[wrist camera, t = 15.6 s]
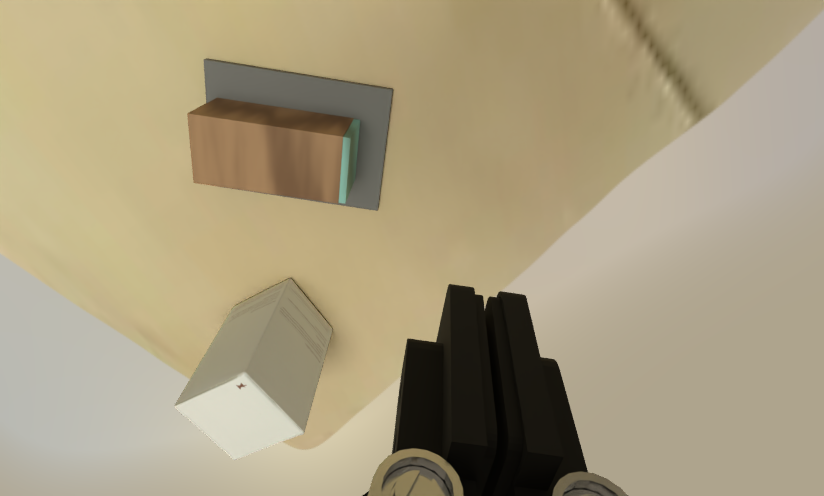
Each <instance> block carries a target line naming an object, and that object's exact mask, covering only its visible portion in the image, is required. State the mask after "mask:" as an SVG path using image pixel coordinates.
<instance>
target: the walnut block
mask: <svg viewBox="0 0 824 496" xmlns="http://www.w3.org/2000/svg"><path fill="white" fill-rule="evenodd" d="M187 115H188V126H189V137H190V148H191V158H192V169H193V180H194V183H199V184H206V185H213V186H220V187H227V188H233V189H240V190H247V191H254V192H261V193H268V194H275V195H282V196H289V197H296V198H303V199H310V200H317V201H324V202H330V203H337V204H338V203H344V204H345V203H346V201H347V198H348V196H349V193H350V191H351V188H352V186H353V183H354V181H355V175H356V164H357V152H358V140H359V129H360V120H357V119H354V118H349V117H343V116H336V115H329V114H323V113H316V112H310V111H303V110H296V109H290V108H283V107H276V106H270V105H263V104H256V103H250V102H243V101H236V100H230V99H223V98H215V99H213V100H212V101H210V102H208V103H206V104H204V105H202V106H200V107H199V108H197V109H195V110H193V111H191V112H189V113H188V114H187Z"/></svg>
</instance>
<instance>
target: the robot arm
mask: <svg viewBox="0 0 824 496" xmlns="http://www.w3.org/2000/svg"><path fill="white" fill-rule="evenodd" d="M363 496H628V495H627V494H626V493H625V492H624V491H623V490H622V489H621V488H620V487H618V486H617V485H615V484H614V483H612V482H611V481H609V480H608V479H606V478H604V477H601V476H599V475H596V474H594V473H588V471H587V467H586V464H585V460H584V456H583V453H582V449H581V445H580V442H579V438H578V434H577V431H576V427H575V424H574V420H573V416H572V413H571V410H570V405H569V402H568V398H567V394H566V391H565V387H564V384H563V380H562V377H561V373H560V369H559V366H558V364H557V362H556V361H555V360H554V359H548V358H541V357H540V354H539V349H538V346H537V341H536V337H535V332H534V328H533V324H532V320H531V316H530V311H529V307H528V303H527V298H526V296H525V295H522V294H515V293H507V292H501V291H500V292H499V293H498V295H497V297H489V298H488V301H487V304H486V308H485V310H484V301H483V296H482V295H476V294H475V291H474V288H473V287H466V286H459V285H452V284H449V286H448V289H447V293H446V298H445V303H444V308H443V312H442V317H441V322H440V327H439V332H438V336H437V341H436V342H429V341H422V340H415V339H407V344H406V350H405V356H404V362H403V368H402V375H401V382H400V389H399V397H398V406H397V415H396V424H395V433H394V442H393V451H392V455H389V456H388V457H387V458H386V459H385V460H384V461H383V462H382V463H381V464H380V465H379V467H378V469H377V471H376V473H375V474H374V476H373V480H372V483H371V486H370V490H369V491H368V492H367V493H366V494H365V495H363Z"/></svg>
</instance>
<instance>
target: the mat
mask: <svg viewBox="0 0 824 496" xmlns="http://www.w3.org/2000/svg"><path fill="white" fill-rule="evenodd" d="M204 71H205V87H206V103H208V102H210V101H212V100H213V99H215V98H223V99H230V100H236V101H243V102H250V103H256V104H263V105H270V106H276V107H283V108H290V109H296V110H303V111H310V112H316V113H323V114H329V115H336V116H343V117H349V118H354V119H357V120H360V129H359V140H358V152H357V164H356V175H355V181H354V183H353V186H352V188H351V191H350V193H349V196H348V198H347V201H346V203H345V204H344V203H338V204H337V203H330V202H324V201H317V200H310V199H304V200H310V201H317V202H323V203H330V204H337V205H343V206H350V207H356V208H363V209H369V210H376V211H378V205H379V197H380V189H381V181H382V173H383V165H384V157H385V149H386V141H387V133H388V125H389V117H390V109H391V101H392V93H393V89H391V88H385V87H379V86H372V85H366V84H360V83H354V82H348V81H342V80H335V79H329V78H323V77H317V76H311V75H305V74H298V73H292V72H286V71H280V70H274V69H267V68H261V67H255V66H249V65H243V64H237V63H230V62H224V61H218V60H212V59H204ZM212 186H213V185H212ZM219 187H220V186H219ZM225 188H227V187H225ZM232 189H233V188H232ZM238 190H240V189H238ZM245 191H247V190H245ZM251 192H254V191H251ZM258 193H261V192H258ZM264 194H268V193H264ZM271 195H275V194H271ZM278 196H282V195H278ZM284 197H289V196H284ZM291 198H296V197H291ZM297 199H303V198H297Z"/></svg>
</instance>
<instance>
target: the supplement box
mask: <svg viewBox="0 0 824 496" xmlns="http://www.w3.org/2000/svg"><path fill="white" fill-rule="evenodd" d="M332 331H333V329H332V327H331V326H330V325H329V324H328V323H327V321H326V320H325V319H324V318H323V317H322V315H321V314H320V313H319V312H318V311H317V309H316V308H315V307H314V306H313V305H312V303H311V302H310V301H309V300H308V298H307V297H306V296H305V295H304V294H303V292H302V291H301V290H300V289H299V288H298V286H297V285H296V284H295V283H294V281H293V280H292V279H291V278H289V279H287V280H285V281H283V282H281V283H279V284H277V285H275V286H273V287H271V288H269V289H267V290H265V291H263V292H261V293H259V294H257V295H255V296H253V297H251V298H249V299H247V300H245V301H243V302H241V303H239V304H238V305H236V306H234V307H233V308H232V310H231V311H230V313H229V315H228V317H227V318H226V320H225V321H224V323H223V325H222V327H221V328H220V330H219V332H218V333H217V335H216V337H215V338H214V340H213V342H212V343H211V345H210V347H209V348H208V350H207V352H206V353H205V355H204V357H203V358H202V360H201V362H200V363H199V365H198V367H197V368H196V370H195V372H194V373H193V375H192V377H191V379H190V380H189V382H188V384H187V385H186V387H185V389H184V390H183V392H182V394H181V395H180V397H179V399H178V400H177V402H176V404H175V406H174V407H175V408H176V409H177V410H178V411H179V412H180V413H181V414H183V415H184V416H185V417H186V418H187V419H188V420H190V421H191V422H192V423H193V424H194V425H195V426H196V427H198V428H199V429H200V430H201V431H202V432H203V433H204V434H205V435H207V436H208V437H209V438H210V439H211V440H212V441H213V442H214V443H215V444H217V445H218V446H219V447H220V448H221V449H222V450H224V452H225V453H227V454H228V455H229V456H230V457H231V458H232V459H233V460H237V459H239V458H242V457H244V456H247V455H250V454H252V453H255V452H257V451H260V450H262V449H265V448H267V447H269V446H272V445H274V444H277V443H280V442H283V441H285V440H288V439H291V438H294V437H296V436H299V435H302V434H304V432H305V428H306V424H307V420H308V417H309V413H310V410H311V406H312V402H313V399H314V395H315V392H316V388H317V385H318V381H319V378H320V374H321V370H322V367H323V363H324V360H325V356H326V352H327V349H328V345H329V341H330V338H331V334H332Z"/></svg>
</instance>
